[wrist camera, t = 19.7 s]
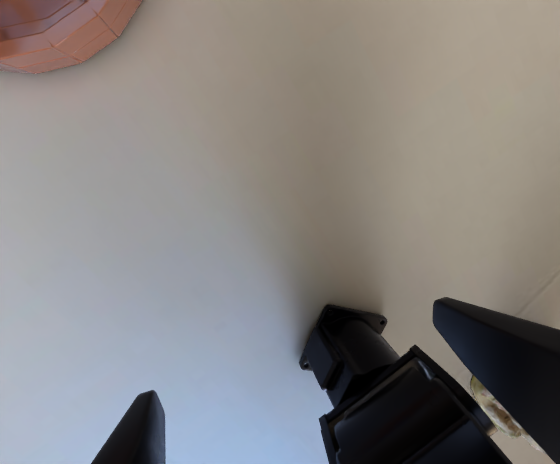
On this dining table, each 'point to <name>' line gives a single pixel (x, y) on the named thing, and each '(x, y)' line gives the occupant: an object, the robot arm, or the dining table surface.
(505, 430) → the ceramic model
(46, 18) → the bowl
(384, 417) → the robot arm
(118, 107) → the dining table surface
